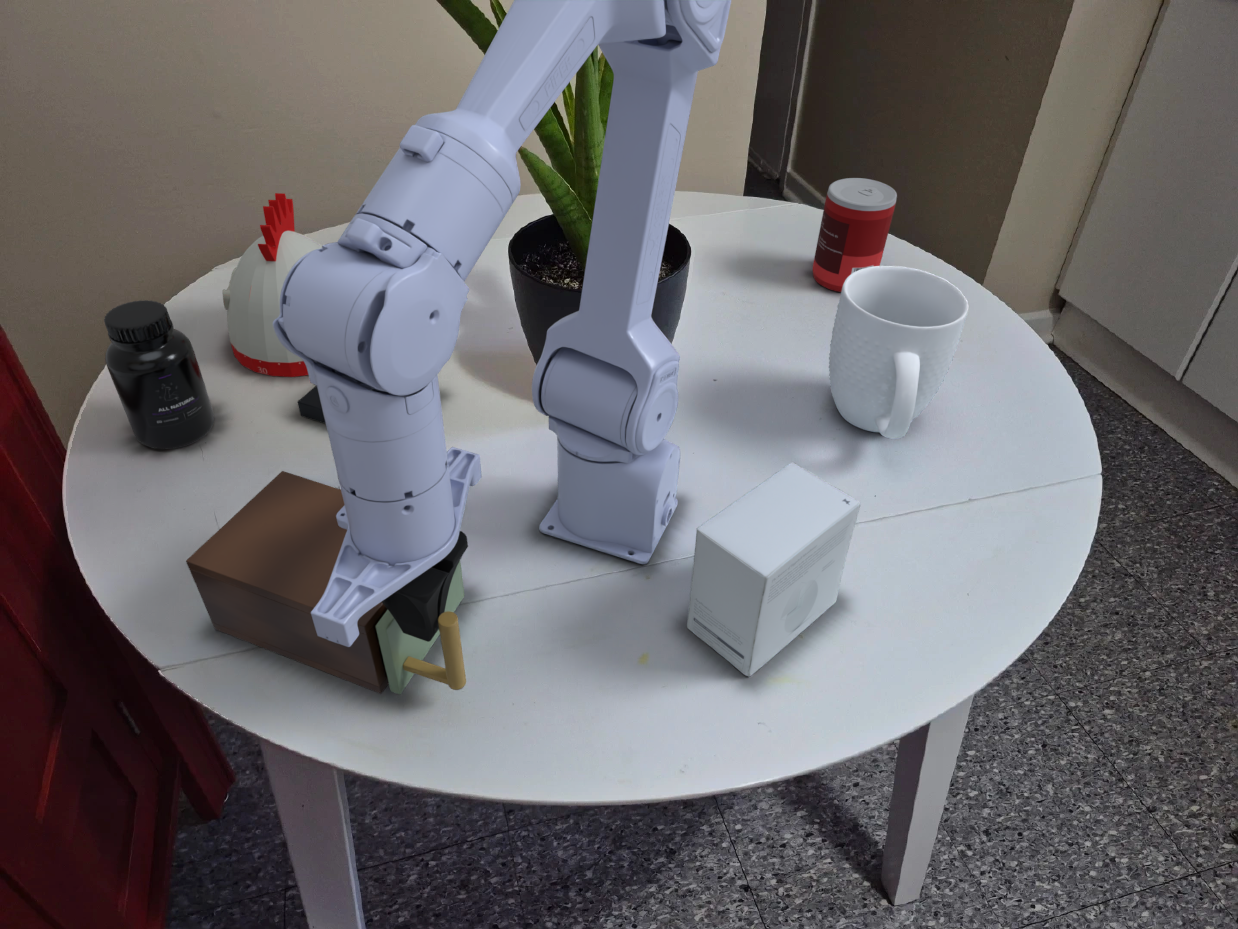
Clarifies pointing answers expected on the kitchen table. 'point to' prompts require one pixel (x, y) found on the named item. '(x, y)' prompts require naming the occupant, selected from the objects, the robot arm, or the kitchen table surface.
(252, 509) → the shelf cabinet
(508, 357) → the kitchen table surface
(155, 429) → the supplement bottle
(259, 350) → the kitchen timer
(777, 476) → the cosmetics box
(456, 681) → the shelf door
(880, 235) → the canned food
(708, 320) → the kitchen table surface
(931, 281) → the mug
